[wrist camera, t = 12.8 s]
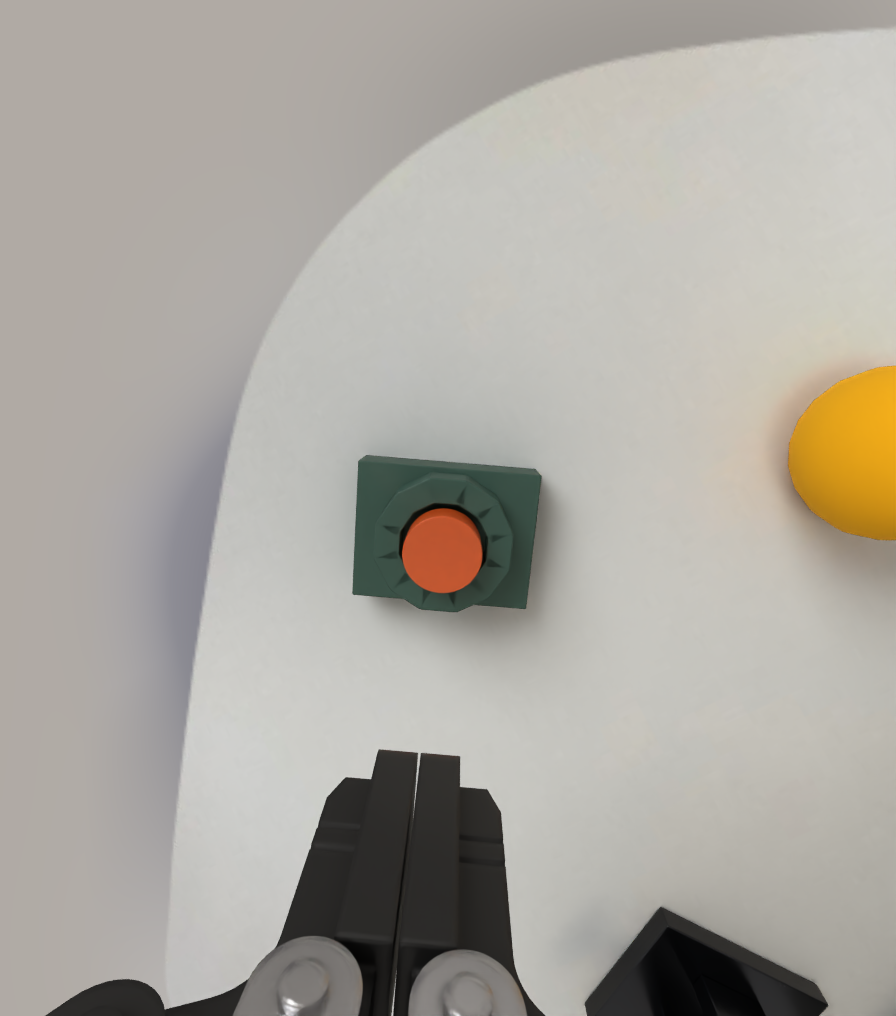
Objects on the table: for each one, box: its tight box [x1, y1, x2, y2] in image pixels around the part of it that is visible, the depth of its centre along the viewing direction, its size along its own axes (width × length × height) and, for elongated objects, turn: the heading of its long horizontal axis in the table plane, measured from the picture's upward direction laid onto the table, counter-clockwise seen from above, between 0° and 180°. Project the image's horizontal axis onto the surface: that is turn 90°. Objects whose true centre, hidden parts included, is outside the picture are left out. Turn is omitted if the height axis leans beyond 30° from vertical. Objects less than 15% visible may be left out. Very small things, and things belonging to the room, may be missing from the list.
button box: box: [352, 455, 541, 612], centre depth 28 cm, size 9×7×4 cm
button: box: [402, 508, 482, 593], centre depth 26 cm, size 4×4×2 cm
